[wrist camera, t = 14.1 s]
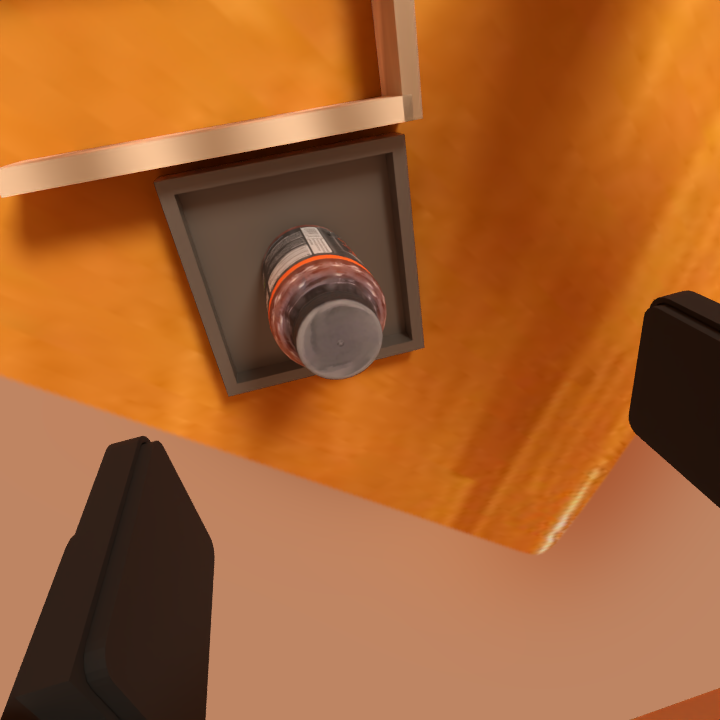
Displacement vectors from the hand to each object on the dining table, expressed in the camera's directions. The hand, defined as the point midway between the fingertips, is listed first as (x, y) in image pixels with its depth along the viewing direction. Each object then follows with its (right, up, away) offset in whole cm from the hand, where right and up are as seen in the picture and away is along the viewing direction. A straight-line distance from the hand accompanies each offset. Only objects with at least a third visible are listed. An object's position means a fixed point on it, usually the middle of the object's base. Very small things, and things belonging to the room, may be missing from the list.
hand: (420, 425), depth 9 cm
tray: (-5, +7, +23) cm, 24 cm away
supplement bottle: (-5, +7, +22) cm, 24 cm away
